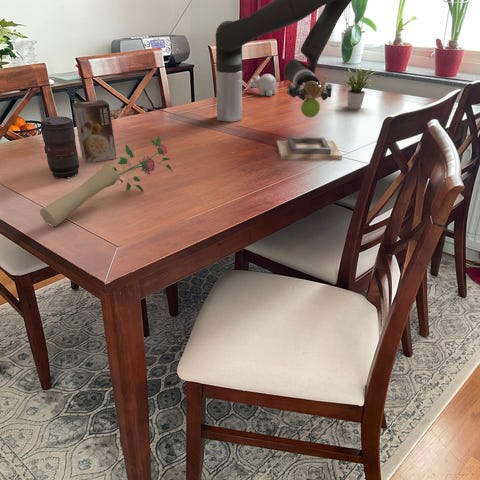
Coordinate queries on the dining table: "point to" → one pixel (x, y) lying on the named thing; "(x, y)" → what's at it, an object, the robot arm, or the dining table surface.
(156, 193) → the dining table surface
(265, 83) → the round bodied animal figurine
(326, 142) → the board
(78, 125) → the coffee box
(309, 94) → the snail figurine
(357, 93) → the house plant
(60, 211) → the flower vase
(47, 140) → the camera lens
